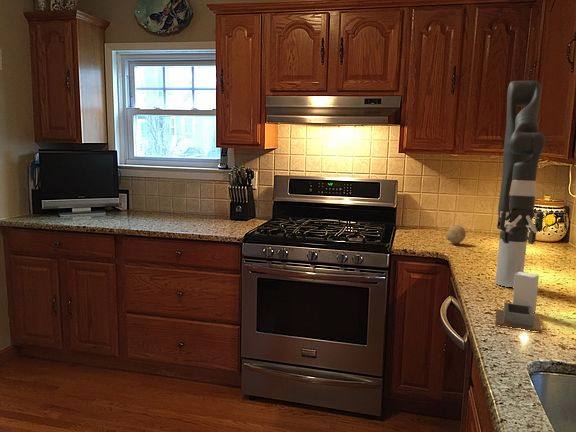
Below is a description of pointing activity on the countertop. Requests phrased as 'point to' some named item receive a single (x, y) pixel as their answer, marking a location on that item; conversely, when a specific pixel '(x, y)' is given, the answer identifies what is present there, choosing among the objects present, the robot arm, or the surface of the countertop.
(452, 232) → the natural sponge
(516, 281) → the skincare box
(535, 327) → the collar
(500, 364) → the countertop surface
